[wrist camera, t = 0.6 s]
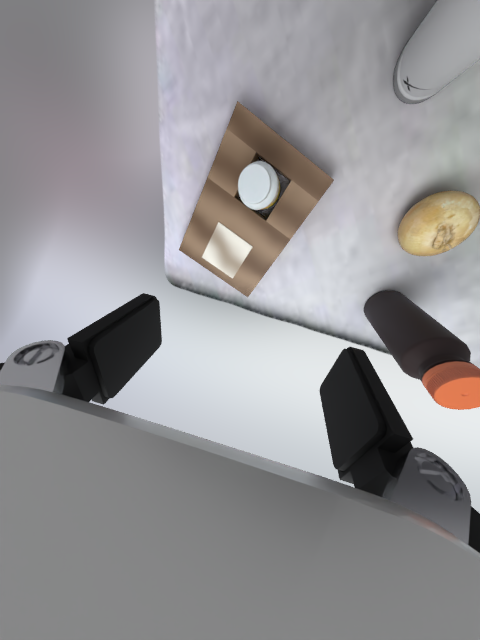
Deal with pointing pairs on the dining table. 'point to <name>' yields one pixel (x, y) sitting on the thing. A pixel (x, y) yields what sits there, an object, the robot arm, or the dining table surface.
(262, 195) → the supplement bottle
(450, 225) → the onion
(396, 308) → the vinegar
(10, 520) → the robot arm
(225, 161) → the socket board
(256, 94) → the dining table surface
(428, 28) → the travel mug
